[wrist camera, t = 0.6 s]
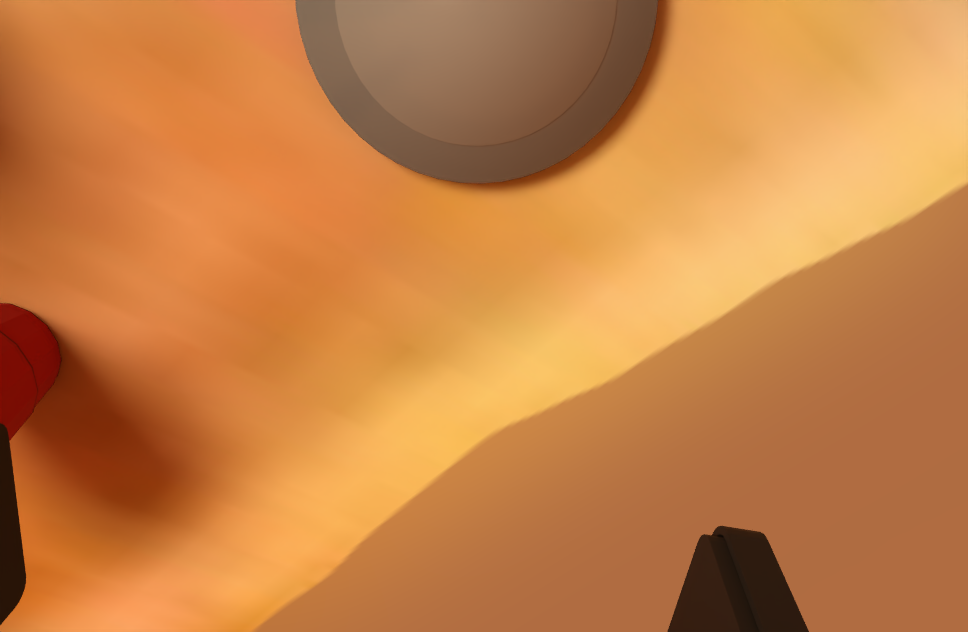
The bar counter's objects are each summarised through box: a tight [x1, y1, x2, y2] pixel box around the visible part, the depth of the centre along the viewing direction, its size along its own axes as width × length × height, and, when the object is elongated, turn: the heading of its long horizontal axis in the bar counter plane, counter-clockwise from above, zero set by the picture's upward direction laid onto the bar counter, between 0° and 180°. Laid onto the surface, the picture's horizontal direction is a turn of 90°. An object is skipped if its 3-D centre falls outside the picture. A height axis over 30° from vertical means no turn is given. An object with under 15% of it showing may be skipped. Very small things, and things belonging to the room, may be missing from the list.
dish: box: [296, 0, 658, 183], centre depth 33 cm, size 16×16×1 cm
